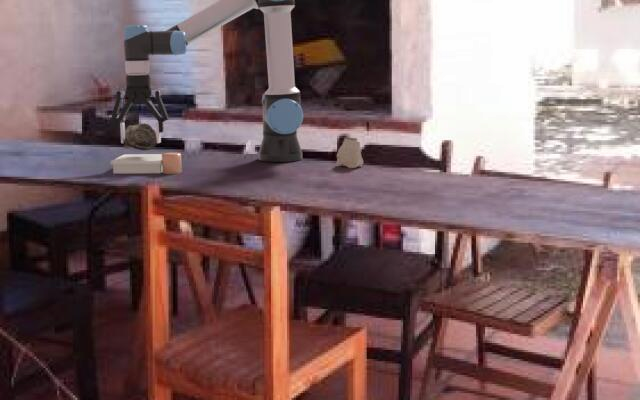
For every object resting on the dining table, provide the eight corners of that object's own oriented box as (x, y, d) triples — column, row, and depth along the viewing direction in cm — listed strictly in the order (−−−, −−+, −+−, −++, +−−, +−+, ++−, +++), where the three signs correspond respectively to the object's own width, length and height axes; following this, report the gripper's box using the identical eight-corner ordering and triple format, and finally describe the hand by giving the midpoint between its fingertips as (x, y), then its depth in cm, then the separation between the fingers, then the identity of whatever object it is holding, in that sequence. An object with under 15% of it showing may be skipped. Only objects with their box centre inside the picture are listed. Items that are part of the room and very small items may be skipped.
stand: (171, 165, 307) (171, 154, 306) (161, 173, 291) (160, 160, 290) (124, 166, 308) (123, 154, 307) (111, 173, 292) (110, 161, 291)
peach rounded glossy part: (183, 171, 296) (182, 152, 295) (179, 174, 290) (178, 155, 289) (164, 171, 296) (164, 152, 295) (160, 174, 290) (159, 155, 289)
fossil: (139, 149, 290) (127, 121, 291) (123, 161, 296) (111, 133, 297) (165, 145, 299) (153, 117, 300) (148, 156, 304) (137, 129, 305)
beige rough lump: (362, 173, 300) (370, 143, 301) (354, 167, 294) (362, 137, 295) (338, 168, 304) (345, 139, 305) (329, 162, 297) (337, 133, 298)
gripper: (176, 73, 297) (179, 141, 301) (104, 74, 298) (108, 141, 302) (171, 74, 289) (174, 143, 294) (98, 75, 291) (102, 144, 295)
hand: (141, 142), depth 298 cm, fingers closed on fossil, 11 cm apart
